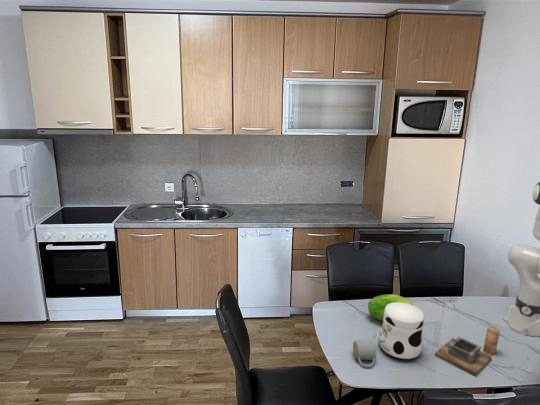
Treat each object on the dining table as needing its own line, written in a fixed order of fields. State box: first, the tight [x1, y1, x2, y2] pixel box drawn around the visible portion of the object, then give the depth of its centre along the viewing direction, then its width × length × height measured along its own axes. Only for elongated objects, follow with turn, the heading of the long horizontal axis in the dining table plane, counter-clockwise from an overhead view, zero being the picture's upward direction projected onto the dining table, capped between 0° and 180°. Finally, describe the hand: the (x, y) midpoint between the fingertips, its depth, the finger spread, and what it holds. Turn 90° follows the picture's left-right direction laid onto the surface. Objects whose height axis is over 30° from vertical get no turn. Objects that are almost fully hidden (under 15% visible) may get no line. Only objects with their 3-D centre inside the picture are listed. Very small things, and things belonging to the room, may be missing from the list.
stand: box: [434, 336, 493, 377], centre depth 159 cm, size 16×16×6 cm
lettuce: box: [367, 293, 413, 322], centre depth 185 cm, size 13×23×12 cm, turn 103°
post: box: [482, 327, 500, 356], centre depth 163 cm, size 4×4×10 cm
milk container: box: [378, 302, 425, 360], centre depth 161 cm, size 17×17×18 cm
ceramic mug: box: [352, 338, 377, 369], centre depth 155 cm, size 11×8×8 cm
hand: (527, 329), depth 150 cm, fingers open, 8 cm apart
